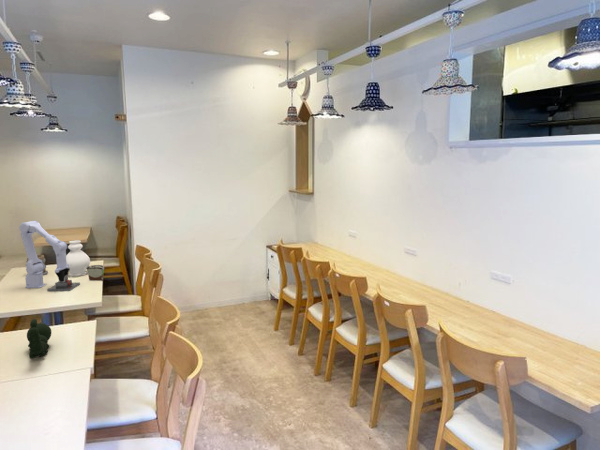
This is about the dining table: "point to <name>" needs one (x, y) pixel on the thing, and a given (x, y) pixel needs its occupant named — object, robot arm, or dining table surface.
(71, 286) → the base
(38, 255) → the tankard
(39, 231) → the robot arm
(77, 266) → the decorative vase
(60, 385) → the dining table surface
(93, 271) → the food container
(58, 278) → the block
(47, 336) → the dark green bumpy clump
